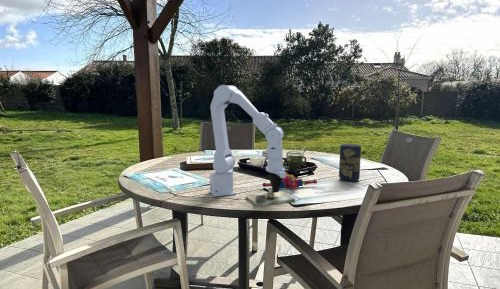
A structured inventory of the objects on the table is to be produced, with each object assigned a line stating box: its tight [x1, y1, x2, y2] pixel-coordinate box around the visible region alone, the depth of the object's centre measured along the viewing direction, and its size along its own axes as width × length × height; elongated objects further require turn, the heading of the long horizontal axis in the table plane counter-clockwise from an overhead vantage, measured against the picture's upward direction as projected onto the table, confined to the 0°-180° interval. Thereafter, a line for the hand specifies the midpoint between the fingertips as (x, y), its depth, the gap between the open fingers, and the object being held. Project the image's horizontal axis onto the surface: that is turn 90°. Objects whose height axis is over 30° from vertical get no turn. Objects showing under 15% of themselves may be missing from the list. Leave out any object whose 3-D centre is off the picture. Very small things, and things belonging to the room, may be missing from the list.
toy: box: [261, 171, 318, 190], centre depth 166 cm, size 25×6×30 cm
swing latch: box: [266, 187, 274, 199], centre depth 141 cm, size 9×3×2 cm, turn 175°
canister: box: [338, 142, 362, 182], centre depth 171 cm, size 10×10×18 cm
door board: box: [245, 191, 296, 207], centre depth 141 cm, size 16×11×4 cm
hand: (275, 192), depth 143 cm, fingers closed, pressing on swing latch
